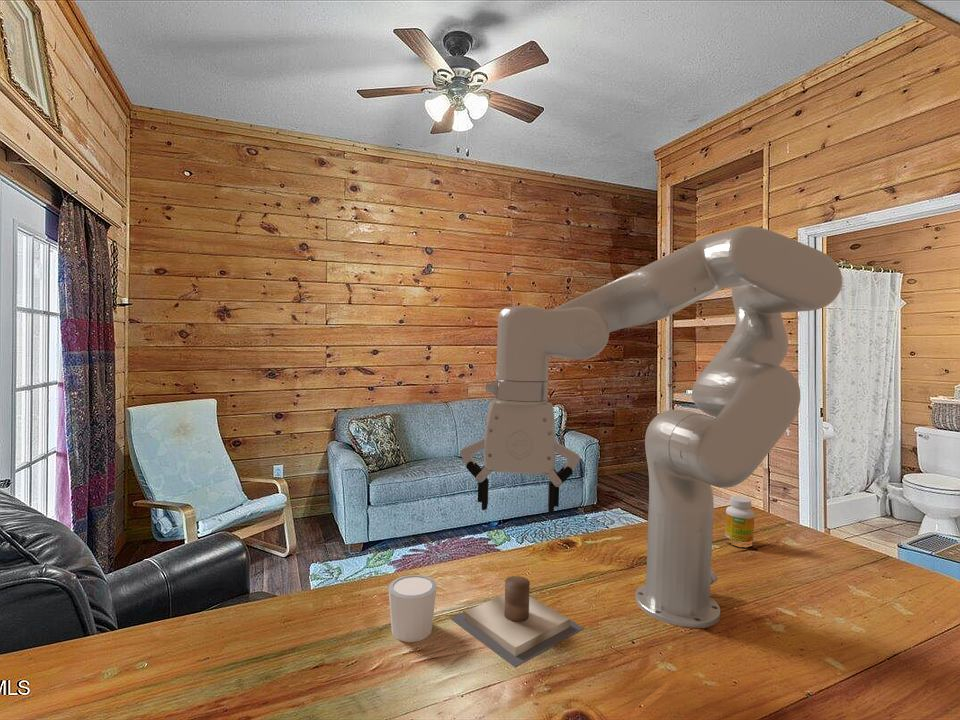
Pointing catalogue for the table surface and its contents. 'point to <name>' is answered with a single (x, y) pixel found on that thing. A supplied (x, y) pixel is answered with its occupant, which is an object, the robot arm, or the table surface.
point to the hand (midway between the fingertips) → (517, 509)
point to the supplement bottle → (739, 520)
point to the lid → (516, 618)
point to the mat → (523, 656)
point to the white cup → (412, 607)
